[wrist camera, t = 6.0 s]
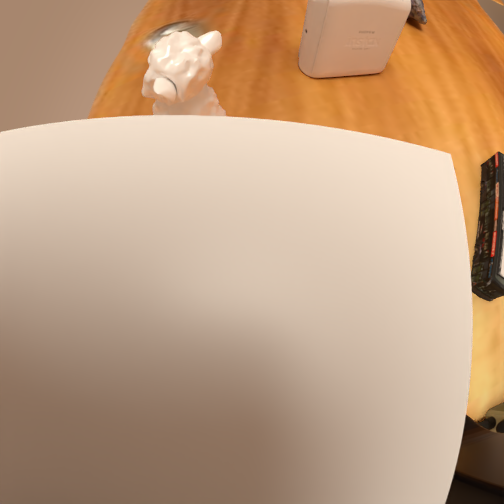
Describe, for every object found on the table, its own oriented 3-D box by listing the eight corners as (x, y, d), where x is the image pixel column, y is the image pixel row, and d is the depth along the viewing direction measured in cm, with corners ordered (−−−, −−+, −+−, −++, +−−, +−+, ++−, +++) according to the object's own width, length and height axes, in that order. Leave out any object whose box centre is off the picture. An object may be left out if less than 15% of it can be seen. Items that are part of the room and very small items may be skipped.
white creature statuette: (175, 97, 27) (153, -7, 15) (258, 123, 26) (268, 9, 14) (120, 174, 24) (58, 76, 13) (208, 211, 24) (184, 104, 12)
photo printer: (307, 83, 28) (331, -19, 16) (290, 58, 29) (307, -38, 17) (386, 77, 29) (426, -5, 17) (368, 53, 30) (399, -25, 18)
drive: (276, 386, 14) (424, 556, 1) (152, 374, 14) (-87, 437, 1) (282, 305, 15) (451, 154, 2) (160, 294, 15) (-50, 144, 2)
